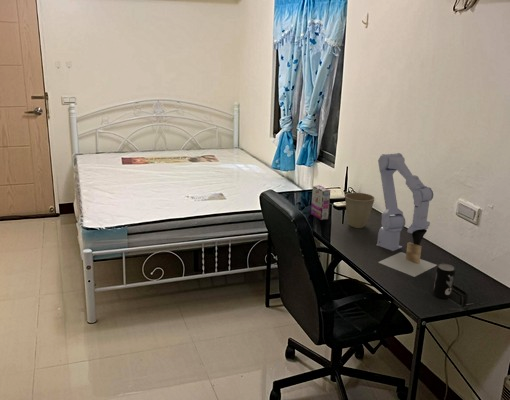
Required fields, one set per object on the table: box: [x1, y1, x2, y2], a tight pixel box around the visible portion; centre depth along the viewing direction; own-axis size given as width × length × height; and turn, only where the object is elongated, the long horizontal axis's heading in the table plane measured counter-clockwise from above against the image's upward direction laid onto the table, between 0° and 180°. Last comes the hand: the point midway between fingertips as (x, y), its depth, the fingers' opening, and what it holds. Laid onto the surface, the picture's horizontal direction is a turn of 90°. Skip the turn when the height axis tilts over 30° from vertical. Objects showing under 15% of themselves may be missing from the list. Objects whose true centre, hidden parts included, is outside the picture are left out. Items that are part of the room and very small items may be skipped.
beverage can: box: [432, 263, 456, 300], centre depth 188 cm, size 7×7×12 cm
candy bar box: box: [310, 184, 331, 221], centre depth 271 cm, size 11×5×16 cm, turn 25°
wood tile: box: [405, 241, 423, 264], centre depth 217 cm, size 6×2×8 cm, turn 41°
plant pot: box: [344, 192, 376, 229], centre depth 259 cm, size 15×15×16 cm
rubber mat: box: [377, 251, 438, 278], centre depth 216 cm, size 18×18×1 cm
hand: (416, 244), depth 217 cm, fingers closed
